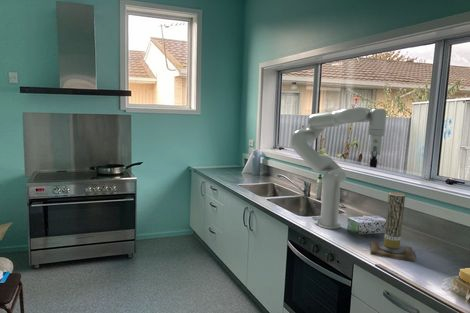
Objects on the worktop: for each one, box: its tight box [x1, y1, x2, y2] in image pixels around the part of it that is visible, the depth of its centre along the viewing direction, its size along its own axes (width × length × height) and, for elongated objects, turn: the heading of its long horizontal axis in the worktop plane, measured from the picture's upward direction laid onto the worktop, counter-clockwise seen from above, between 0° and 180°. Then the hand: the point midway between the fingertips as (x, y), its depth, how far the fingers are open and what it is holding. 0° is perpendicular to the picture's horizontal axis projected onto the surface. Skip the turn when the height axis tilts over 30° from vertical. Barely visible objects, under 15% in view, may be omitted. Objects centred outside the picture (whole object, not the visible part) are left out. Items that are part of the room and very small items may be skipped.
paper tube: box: [383, 191, 406, 249], centre depth 165 cm, size 7×7×25 cm
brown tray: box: [370, 240, 416, 263], centre depth 166 cm, size 18×15×2 cm
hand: (373, 166), depth 187 cm, fingers open, 9 cm apart
